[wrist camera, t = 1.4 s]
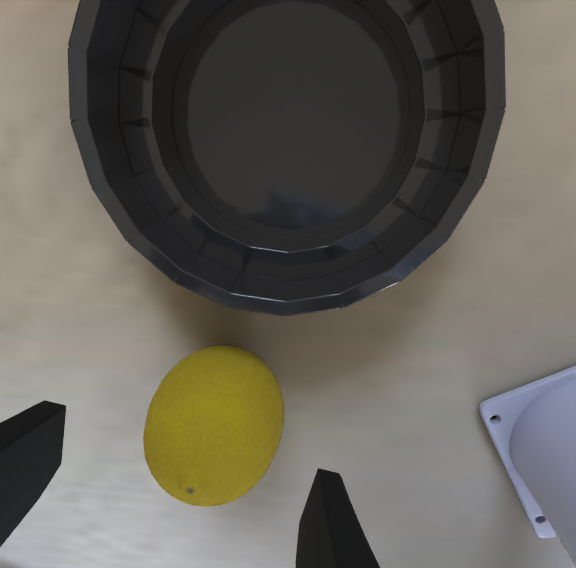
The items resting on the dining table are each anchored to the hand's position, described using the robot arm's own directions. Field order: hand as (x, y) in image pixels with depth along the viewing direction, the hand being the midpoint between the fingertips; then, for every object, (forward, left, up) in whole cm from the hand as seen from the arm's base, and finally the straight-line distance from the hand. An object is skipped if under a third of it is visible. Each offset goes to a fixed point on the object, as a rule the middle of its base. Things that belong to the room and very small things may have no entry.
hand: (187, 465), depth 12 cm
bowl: (+7, -6, -9) cm, 13 cm away
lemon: (-2, +2, -10) cm, 10 cm away
